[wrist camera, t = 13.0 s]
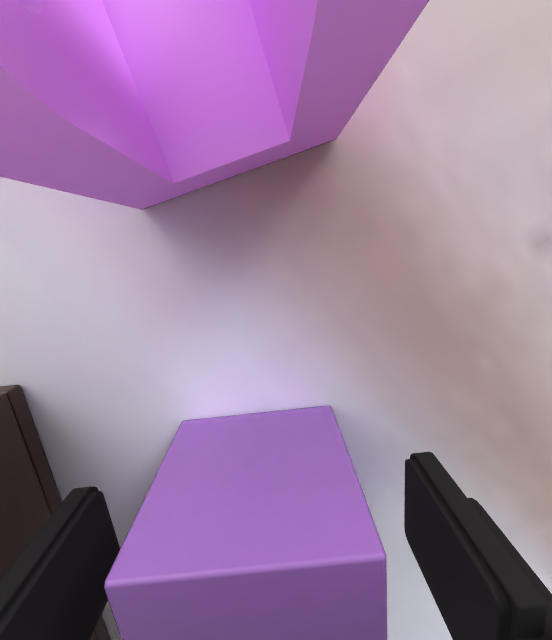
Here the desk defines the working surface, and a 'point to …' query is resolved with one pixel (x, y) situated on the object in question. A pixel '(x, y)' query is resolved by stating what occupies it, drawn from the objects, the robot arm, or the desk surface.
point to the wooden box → (24, 484)
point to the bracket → (180, 87)
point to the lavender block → (253, 537)
